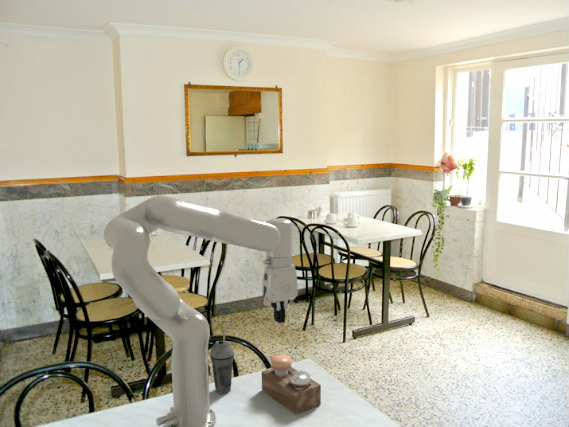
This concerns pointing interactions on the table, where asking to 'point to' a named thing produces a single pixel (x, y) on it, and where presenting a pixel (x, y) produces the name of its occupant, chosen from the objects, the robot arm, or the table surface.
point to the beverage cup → (222, 365)
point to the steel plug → (299, 379)
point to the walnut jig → (291, 391)
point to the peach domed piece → (281, 365)
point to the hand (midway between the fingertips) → (279, 321)
